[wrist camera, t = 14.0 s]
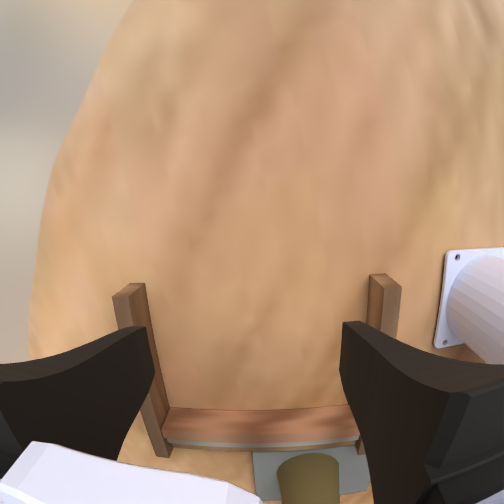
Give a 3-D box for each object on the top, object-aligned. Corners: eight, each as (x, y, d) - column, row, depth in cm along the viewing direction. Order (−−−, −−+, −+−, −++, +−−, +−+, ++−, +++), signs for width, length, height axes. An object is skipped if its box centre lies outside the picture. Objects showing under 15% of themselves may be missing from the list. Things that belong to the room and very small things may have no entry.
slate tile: (381, 435, 24) (383, 440, 23) (365, 485, 25) (366, 490, 25) (252, 446, 24) (252, 452, 24) (257, 495, 26) (256, 500, 25)
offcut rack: (385, 273, 21) (401, 286, 18) (363, 431, 24) (371, 453, 21) (130, 283, 22) (111, 296, 19) (165, 434, 25) (156, 456, 22)
